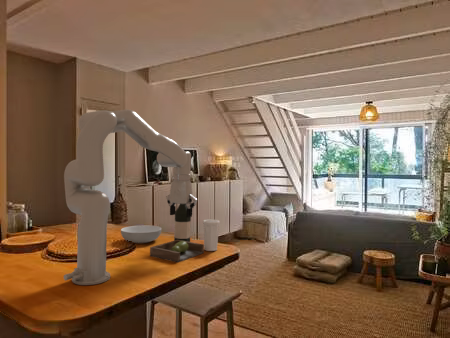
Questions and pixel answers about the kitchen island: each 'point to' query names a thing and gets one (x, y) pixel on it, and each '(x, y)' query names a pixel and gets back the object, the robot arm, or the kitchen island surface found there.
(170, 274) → the kitchen island surface
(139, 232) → the serving bowl
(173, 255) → the tray
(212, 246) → the cup
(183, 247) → the pear
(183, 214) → the wine bottle
